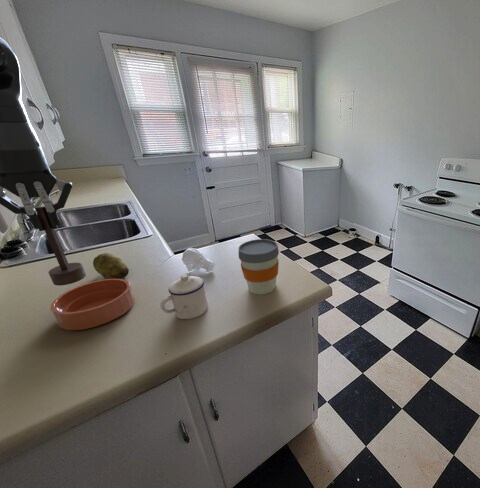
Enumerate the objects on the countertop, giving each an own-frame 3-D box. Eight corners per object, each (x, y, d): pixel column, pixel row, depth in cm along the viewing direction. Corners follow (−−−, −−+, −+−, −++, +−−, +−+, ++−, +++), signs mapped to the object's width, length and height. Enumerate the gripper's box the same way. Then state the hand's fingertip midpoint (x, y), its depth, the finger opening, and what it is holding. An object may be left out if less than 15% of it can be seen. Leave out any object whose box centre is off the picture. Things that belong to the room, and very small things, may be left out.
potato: (104, 287, 91) (96, 266, 88) (95, 274, 99) (88, 254, 96) (132, 277, 97) (126, 257, 94) (122, 266, 105) (116, 247, 101)
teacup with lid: (200, 297, 85) (192, 265, 81) (214, 309, 80) (208, 275, 75) (159, 316, 77) (148, 281, 72) (172, 330, 71) (162, 293, 67)
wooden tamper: (47, 287, 62) (12, 211, 55) (62, 274, 67) (32, 204, 60) (78, 283, 64) (48, 209, 57) (90, 271, 69) (64, 203, 62)
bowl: (40, 331, 71) (30, 312, 69) (96, 293, 87) (90, 277, 85) (103, 333, 70) (96, 315, 68) (148, 295, 86) (143, 279, 84)
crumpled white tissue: (191, 244, 102) (218, 250, 100) (193, 263, 106) (220, 270, 103) (178, 250, 97) (206, 257, 94) (181, 271, 100) (209, 278, 98)
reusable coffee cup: (261, 274, 99) (257, 236, 93) (288, 283, 93) (286, 243, 87) (235, 290, 89) (228, 249, 83) (264, 301, 83) (259, 258, 77)
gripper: (61, 145, 60) (87, 219, 67) (-34, 147, 52) (7, 231, 59) (60, 147, 55) (88, 226, 62) (-46, 149, 47) (0, 241, 54)
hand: (48, 228), depth 60 cm, fingers closed on wooden tamper, 1 cm apart
